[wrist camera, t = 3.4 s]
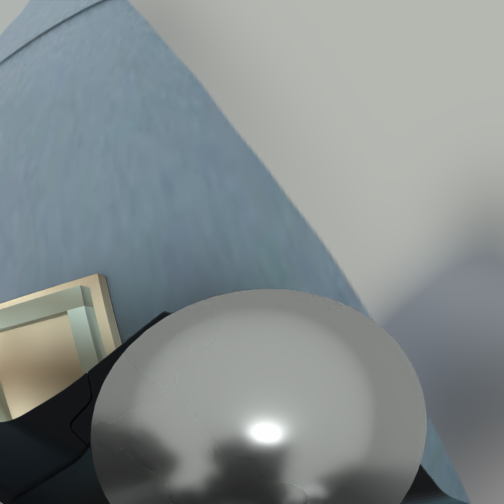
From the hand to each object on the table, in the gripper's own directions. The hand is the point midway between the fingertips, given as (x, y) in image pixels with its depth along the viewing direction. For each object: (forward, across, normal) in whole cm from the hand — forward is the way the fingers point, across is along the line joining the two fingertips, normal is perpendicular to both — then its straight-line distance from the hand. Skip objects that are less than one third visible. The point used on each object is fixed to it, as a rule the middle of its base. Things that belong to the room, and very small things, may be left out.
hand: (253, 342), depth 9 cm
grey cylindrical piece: (+4, 0, +6) cm, 7 cm away
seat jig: (+1, +10, +9) cm, 13 cm away
